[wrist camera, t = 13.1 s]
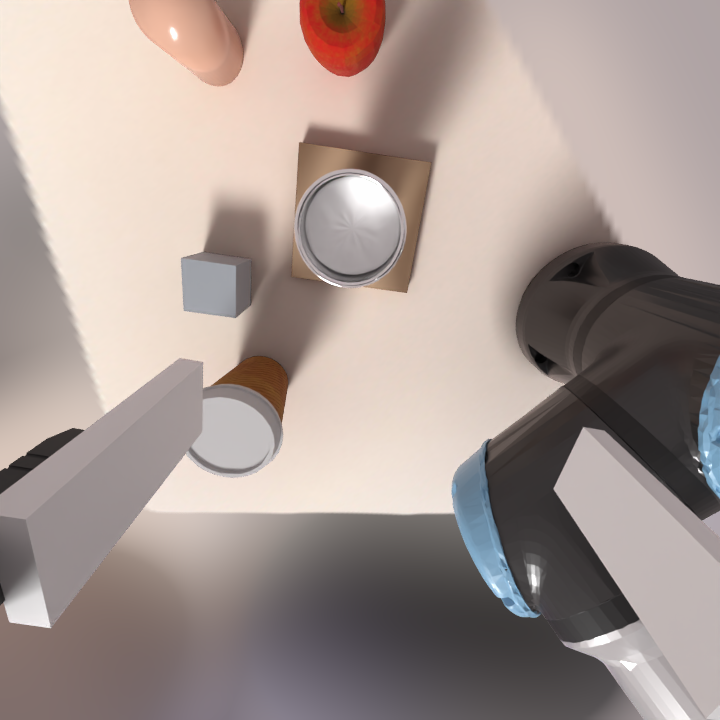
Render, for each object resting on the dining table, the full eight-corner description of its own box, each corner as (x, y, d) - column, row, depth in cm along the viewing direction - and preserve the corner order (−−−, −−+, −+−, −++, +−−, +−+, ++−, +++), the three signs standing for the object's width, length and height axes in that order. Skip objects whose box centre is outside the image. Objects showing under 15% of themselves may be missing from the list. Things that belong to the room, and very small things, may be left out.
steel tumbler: (317, 184, 34) (283, 167, 20) (392, 180, 33) (411, 160, 19) (323, 261, 36) (297, 294, 22) (393, 258, 36) (409, 289, 22)
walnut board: (428, 164, 34) (431, 162, 33) (405, 289, 39) (406, 292, 37) (301, 144, 34) (299, 142, 32) (293, 274, 38) (291, 276, 37)
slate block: (251, 258, 38) (236, 265, 33) (250, 305, 40) (235, 317, 35) (203, 251, 38) (180, 258, 33) (204, 298, 39) (183, 310, 35)
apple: (329, -19, 29) (318, -90, 22) (396, 25, 30) (405, -29, 23) (298, 66, 31) (279, 27, 24) (361, 105, 32) (360, 78, 25)
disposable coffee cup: (313, 402, 44) (296, 467, 33) (243, 422, 46) (204, 491, 34) (282, 332, 41) (252, 378, 30) (207, 356, 42) (151, 409, 31)
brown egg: (243, 18, 30) (204, -43, 23) (243, 90, 32) (206, 55, 25) (183, 8, 30) (123, -57, 23) (186, 81, 32) (132, 43, 24)
